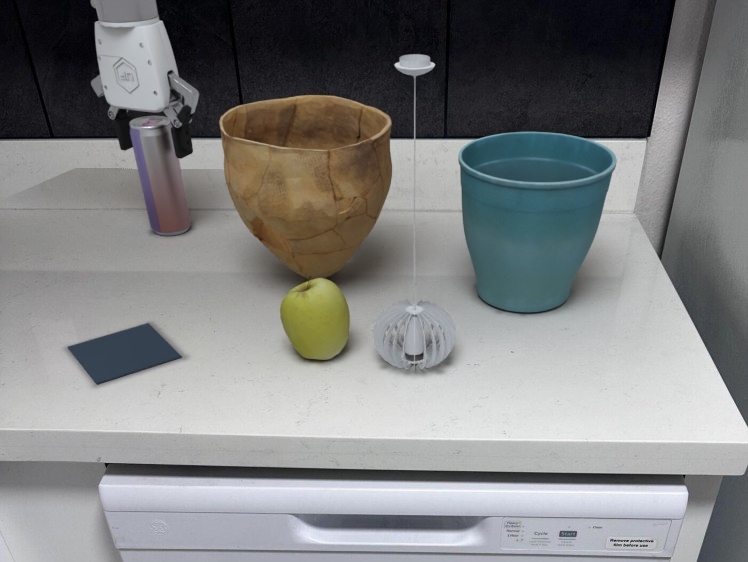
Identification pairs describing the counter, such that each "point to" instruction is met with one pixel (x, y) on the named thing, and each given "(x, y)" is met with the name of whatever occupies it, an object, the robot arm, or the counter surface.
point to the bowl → (308, 176)
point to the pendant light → (422, 310)
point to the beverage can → (160, 175)
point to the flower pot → (531, 213)
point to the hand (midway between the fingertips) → (157, 151)
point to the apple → (316, 319)
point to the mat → (123, 353)
